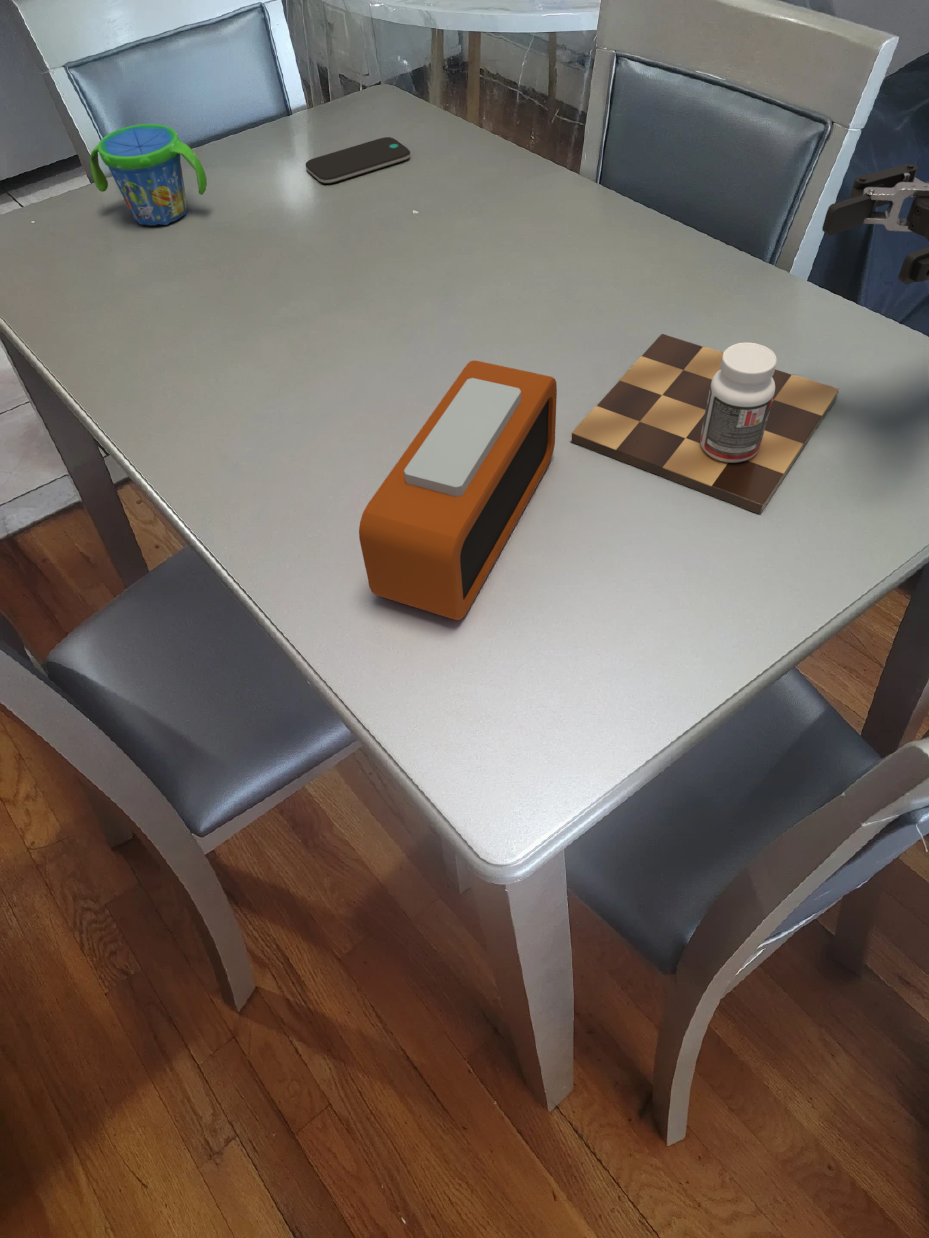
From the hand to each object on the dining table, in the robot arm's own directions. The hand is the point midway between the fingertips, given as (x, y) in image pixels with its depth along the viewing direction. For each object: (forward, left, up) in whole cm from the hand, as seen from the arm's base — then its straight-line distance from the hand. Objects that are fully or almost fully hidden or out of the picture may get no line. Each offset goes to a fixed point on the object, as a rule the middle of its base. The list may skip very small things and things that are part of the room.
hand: (864, 245), depth 67 cm
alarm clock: (+22, +23, -22) cm, 39 cm away
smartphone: (+79, -31, -22) cm, 88 cm away
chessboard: (+10, -2, -22) cm, 24 cm away
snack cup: (+94, -5, -22) cm, 97 cm away
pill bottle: (+6, +2, -21) cm, 22 cm away
